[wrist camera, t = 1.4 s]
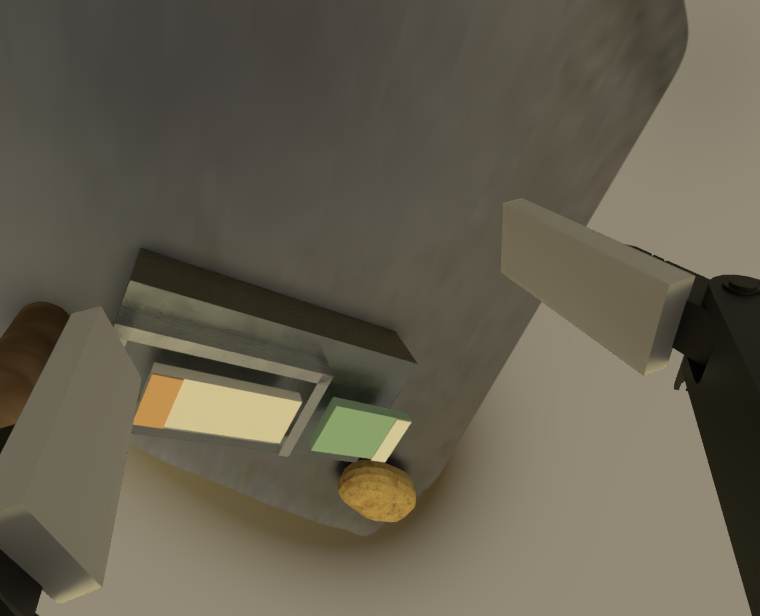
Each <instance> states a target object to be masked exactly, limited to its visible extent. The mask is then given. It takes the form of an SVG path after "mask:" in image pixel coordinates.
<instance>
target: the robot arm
mask: <svg viewBox="0 0 760 616" xmlns="http://www.w3.org/2000/svg"><path fill="white" fill-rule="evenodd" d="M501 272H502V273H503V274H504V275H506V276H507V277H509V278H510V279H511V280H513V281H514V282H515V283H517V284H518V285H520V286H521V287H522V288H524V289H525V290H526V291H528V292H529V293H531V294H532V295H533V296H535V297H536V298H537V299H539V300H540V301H542V302H543V303H544V304H546V305H547V306H548V307H550V308H551V309H553V310H554V311H555V312H557V313H558V314H559V315H561V316H562V317H564V318H565V319H566V320H568V321H569V322H570V323H572V324H573V325H575V326H576V327H577V328H579V329H580V330H581V331H583V332H584V333H586V334H587V335H588V336H590V337H591V338H592V339H594V340H595V341H597V342H598V343H599V344H601V345H602V346H603V347H605V348H606V349H608V350H609V351H610V352H612V353H613V354H614V355H616V356H617V357H619V358H620V359H621V360H623V361H624V362H626V363H627V364H628V365H630V366H631V367H633V368H634V369H635V370H637V371H638V372H639V373H641V374H642V375H643V376H645V375H647V374H649V373H652V372H655V371H657V370H660V369H662V368H665V367H667V364H668V361H669V358H670V355H671V352H672V349H673V348H674V349H676V350H677V351H679V352H681V353H682V354H684V357H683V360H682V363H681V366H680V369H679V372H678V374H677V377H676V380H675V384H674V389H675V390H679V388H680V385H681V383H683V382H684V381H685V382H686V386H687V388H686V391H688V393H689V396H690V400H691V404H692V407H693V410H694V414H695V418H696V421H697V424H698V428H699V431H700V435H701V438H702V442H703V446H704V449H705V452H706V456H707V459H708V463H709V467H710V470H711V474H712V477H713V481H714V484H715V487H716V491H717V494H718V498H719V501H720V505H721V509H722V512H723V516H724V519H725V523H726V526H727V530H728V533H729V537H730V540H731V543H732V547H733V551H734V554H735V557H736V561H737V565H738V568H739V572H740V575H741V579H742V582H743V586H744V589H745V593H746V596H747V600H748V603H749V606H750V610H751V614H752V616H760V280H759V279H754V278H751V277H747V276H741V275H721V276H717V277H713V278H712V279H711V280H710V279H707V278H705V277H703V276H701V275H699V274H696V273H694V272H692V271H690V270H687V269H685V268H683V267H680V266H678V265H676V264H673V263H671V262H669V261H664V259H662V258H660V257H658V256H656V255H653V256H652V254H651V253H649V252H647V251H644V250H642V249H640V248H638V247H635V246H631V245H626V244H623V243H620V242H619V241H616V240H614V239H612V238H610V237H607V236H605V235H603V234H601V233H598V232H596V231H594V230H591V229H589V228H587V227H585V226H583V225H581V224H578V223H576V222H574V221H572V220H570V219H567V218H565V217H563V216H561V215H558V214H556V213H554V212H552V211H549V210H547V209H545V208H543V207H541V206H538V205H536V204H534V203H532V202H529V201H527V200H525V199H523V198H521V199H517V200H513V201H509V202H505V203H503V226H502V254H501ZM141 379H142V378H141V376H140V374H139V373H138V371H137V369H136V367H135V366H134V364H133V362H132V360H131V358H130V357H129V355H128V353H127V351H126V349H125V348H124V346H123V344H122V342H121V340H120V339H119V337H118V335H117V333H116V332H115V330H114V328H113V326H112V324H111V323H110V321H109V319H108V317H107V315H106V314H105V312H104V310H103V308H102V307H101V306H99V307H95V308H91V309H87V310H83V311H79V312H75V313H72V314H71V316H70V318H69V320H68V322H67V324H66V326H65V328H64V330H63V332H62V334H61V336H60V337H59V339H58V341H57V343H56V345H55V347H54V349H53V351H52V353H51V355H50V357H49V359H48V361H47V363H46V365H45V367H44V369H43V371H42V373H41V375H40V377H39V379H38V381H37V383H36V385H35V387H34V389H33V391H32V393H31V395H30V397H29V399H28V401H27V403H26V405H25V407H24V409H23V411H22V412H21V414H20V416H19V418H18V420H17V422H16V424H13V425H10V426H7V427H3V428H0V616H39V615H38V614H36V613H35V611H36V608H37V605H38V601H39V598H40V595H41V591H42V590H43V591H44V592H46V594H47V595H49V596H50V597H51V598H52V599H53V600H54V601H55V602H56V603H58V604H61V603H63V602H66V601H69V600H71V599H73V598H76V597H79V596H81V595H84V594H87V593H89V592H91V591H94V590H97V589H99V588H102V586H103V580H104V575H105V569H106V564H107V559H108V554H109V548H110V543H111V538H112V532H113V527H114V522H115V517H116V511H117V506H118V501H119V495H120V490H121V485H122V479H123V474H124V468H125V463H126V458H127V453H128V448H129V442H130V437H131V432H132V427H133V421H134V416H135V411H136V405H137V400H138V395H139V389H140V384H141Z"/></svg>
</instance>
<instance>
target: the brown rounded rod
mask: <svg viewBox="0 0 760 616" xmlns="http://www.w3.org/2000/svg"><path fill="white" fill-rule="evenodd" d="M68 320H69V316H68V314H67V313H66V312H65V311H64V310H63V309H61V308H60V307H58V306H56V305H53V304H50V303H33V304H30V305H27V306H26V307H24V308H23V309H22V310H21V311H20V312H19V314H18V315H17V316H16V318H15V319H14V321H13V322H12V323H11V325H10V326H9V327H8V329H7V330H6V332H5V333H4V334H3V336H2V337H1V338H0V428H3V427H7V426H10V425H13V424H16V422H17V420H18V418H19V416H20V414H21V412H22V411H23V409H24V407H25V405H26V403H27V401H28V399H29V397H30V395H31V393H32V391H33V389H34V387H35V385H36V383H37V381H38V379H39V377H40V375H41V373H42V371H43V369H44V367H45V365H46V363H47V361H48V359H49V357H50V355H51V353H52V351H53V349H54V347H55V345H56V343H57V341H58V339H59V337H60V336H61V334H62V332H63V330H64V328H65V326H66V324H67V322H68Z"/></svg>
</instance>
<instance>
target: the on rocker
mask: <svg viewBox="0 0 760 616" xmlns="http://www.w3.org/2000/svg"><path fill="white" fill-rule="evenodd" d="M411 422H412V420H411V419H410V417H409V415H408V413H407V412H402V411H397V410H393V409H388V408H383V407H379V406H374V405H369V404H365V403H360V402H355V401H351V400H346V399H341V398H337V397H333V398H332V400H331V401H330V403H329V405H328V407H327V408H326V410H325V412H324V414H323V415H322V417H321V419H320V421H319V422H318V424H317V426H316V428H315V429H314V431H313V433H312V435H311V436H310V438H309V440H308V442H309V446H310V449H311V451H317V452H325V453H332V454H339V455H346V456H353V457H361V458H368V459H371V461H379V462H386V460H387V459H388V457H389V456H390V454H391V453H392V451H393V450H394V448H395V447H396V445H397V444H398V442H399V441H400V439H401V437H402V436H403V434H404V433H405V431H406V430H407V428H408V427H409V425H410V424H411Z"/></svg>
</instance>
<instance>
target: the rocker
mask: <svg viewBox="0 0 760 616" xmlns="http://www.w3.org/2000/svg"><path fill="white" fill-rule="evenodd" d="M301 404H302V400H301V396H300V393H298V392H294V391H289V390H284V389H279V388H275V387H270V386H265V385H260V384H256V383H251V382H246V381H241V380H237V379H232V378H227V377H222V376H218V375H213V374H208V373H203V372H199V371H194V370H189V369H184V368H180V367H175V366H170V365H165V364H161V363H156V362H154V364H153V366H152V369H151V371H150V374H149V376H148V379H147V381H146V384H145V386H144V389H143V391H142V394H141V396H140V399H139V401H138V404H137V406H136V411H135V416H134V421H133V425H139V426H147V427H154V428H161V429H163V427H168V428H175V429H182V430H189V431H196V432H203V433H210V434H217V435H224V436H231V437H238V438H245V439H252V440H259V441H266V442H273V443H280V442H281V440H282V438H283V437H284V435H285V433H286V431H287V429H288V427H289V426H290V424H291V422H292V420H293V418H294V416H295V415H296V413H297V411H298V409H299V407H300V405H301Z"/></svg>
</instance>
